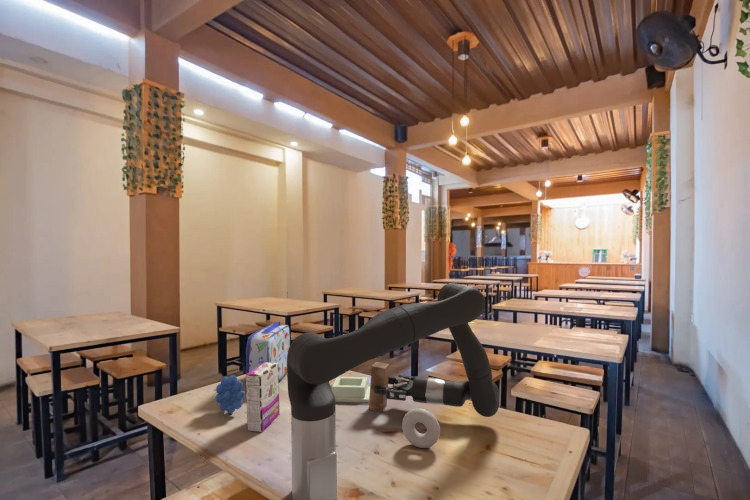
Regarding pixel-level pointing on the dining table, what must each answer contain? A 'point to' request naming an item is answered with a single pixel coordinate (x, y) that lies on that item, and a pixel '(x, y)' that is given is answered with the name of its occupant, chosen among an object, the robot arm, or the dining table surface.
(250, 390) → the candy bar box
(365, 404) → the mat
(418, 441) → the donut
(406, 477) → the dining table surface
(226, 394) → the grapes
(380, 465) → the dining table surface
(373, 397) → the walnut block
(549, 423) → the dining table surface
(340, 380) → the holder
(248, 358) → the lunch box
